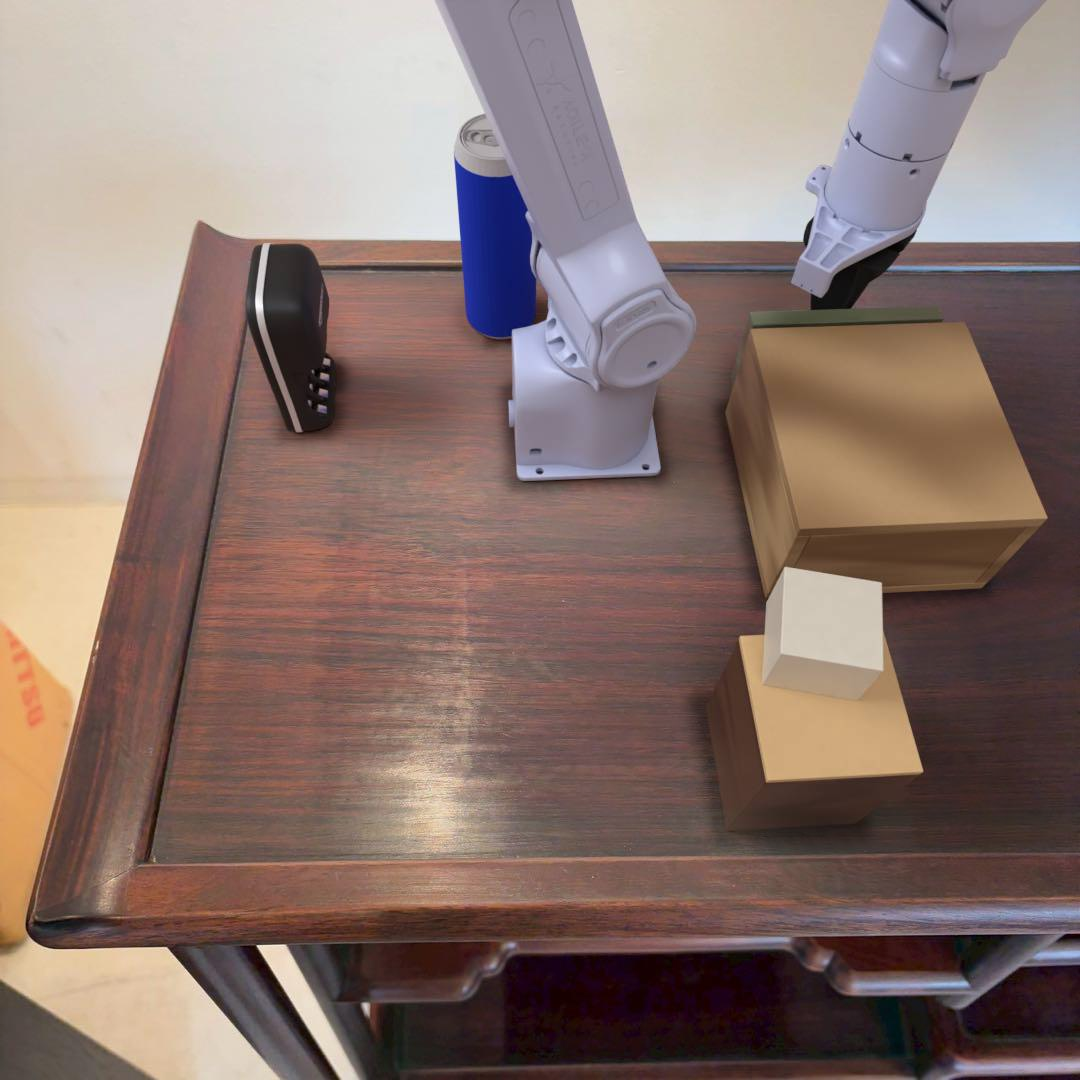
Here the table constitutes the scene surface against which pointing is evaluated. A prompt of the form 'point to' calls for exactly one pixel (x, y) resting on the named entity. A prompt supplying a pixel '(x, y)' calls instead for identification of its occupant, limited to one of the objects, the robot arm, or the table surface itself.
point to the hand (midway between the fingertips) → (827, 313)
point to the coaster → (829, 727)
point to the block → (823, 634)
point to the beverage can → (492, 235)
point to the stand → (777, 802)
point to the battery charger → (292, 332)
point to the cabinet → (878, 457)
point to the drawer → (836, 320)
